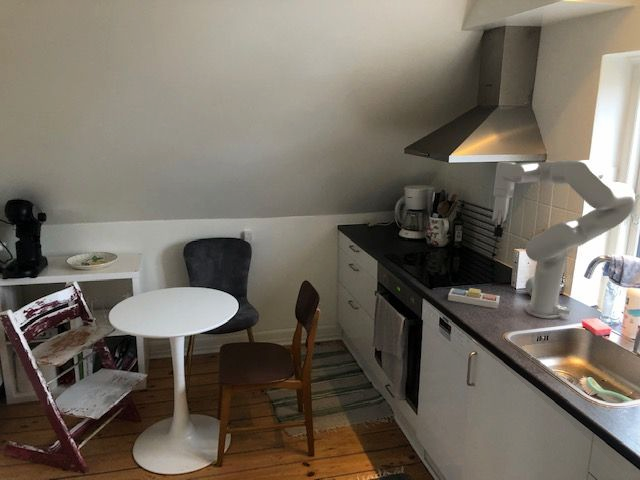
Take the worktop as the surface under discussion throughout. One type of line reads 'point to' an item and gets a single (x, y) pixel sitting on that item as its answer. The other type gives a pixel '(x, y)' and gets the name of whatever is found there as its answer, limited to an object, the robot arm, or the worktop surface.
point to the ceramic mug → (529, 285)
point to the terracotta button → (489, 297)
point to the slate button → (459, 292)
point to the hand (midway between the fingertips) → (497, 236)
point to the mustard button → (474, 293)
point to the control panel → (474, 299)
